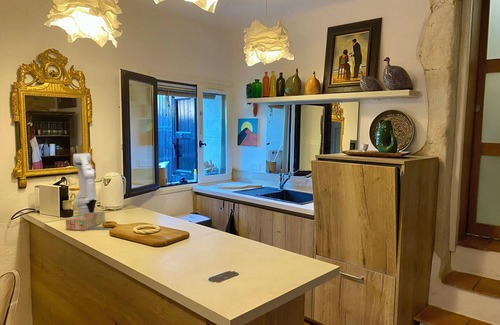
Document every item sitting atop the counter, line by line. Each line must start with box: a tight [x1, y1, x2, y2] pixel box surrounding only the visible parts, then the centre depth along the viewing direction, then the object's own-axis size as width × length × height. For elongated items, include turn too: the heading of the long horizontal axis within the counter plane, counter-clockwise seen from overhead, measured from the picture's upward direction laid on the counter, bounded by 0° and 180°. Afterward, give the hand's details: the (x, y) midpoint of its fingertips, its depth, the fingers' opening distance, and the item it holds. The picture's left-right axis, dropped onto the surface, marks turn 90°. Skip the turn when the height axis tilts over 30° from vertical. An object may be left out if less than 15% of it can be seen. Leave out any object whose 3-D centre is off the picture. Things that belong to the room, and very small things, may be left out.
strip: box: [76, 226, 113, 232], centre depth 220 cm, size 6×20×1 cm, turn 95°
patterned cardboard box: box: [65, 211, 106, 231], centre depth 226 cm, size 21×6×12 cm
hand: (91, 212), depth 217 cm, fingers closed
